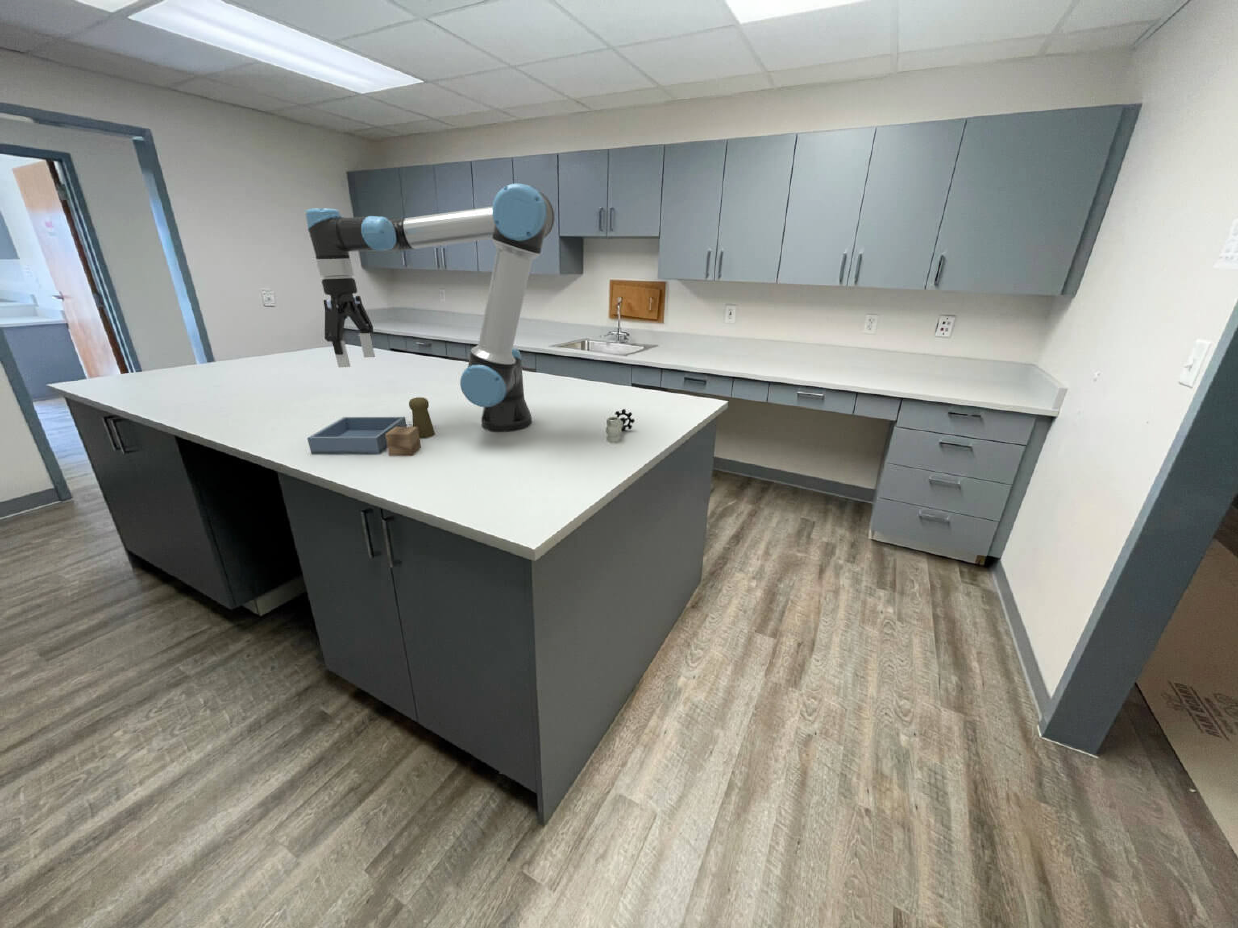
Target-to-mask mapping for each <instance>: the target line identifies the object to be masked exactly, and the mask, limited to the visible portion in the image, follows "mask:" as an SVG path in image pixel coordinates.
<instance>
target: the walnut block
mask: <svg viewBox="0 0 1238 928" xmlns="http://www.w3.org/2000/svg"><path fill="white" fill-rule="evenodd" d="M385 436H386V441H387V446H388V448H387V450H388V455H389V457H392V456H393V457H395V456H396V457H398V456H400V457H408V456H409V457H413V456H414V455H415V454H417V452H418V451H419V450H420V449H422V445H421V439H420V438H419V432H418V427H413V426H407V427H394V428H393V429H392V430H390V431H389V432H388V433H386V434H385Z"/></svg>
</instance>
